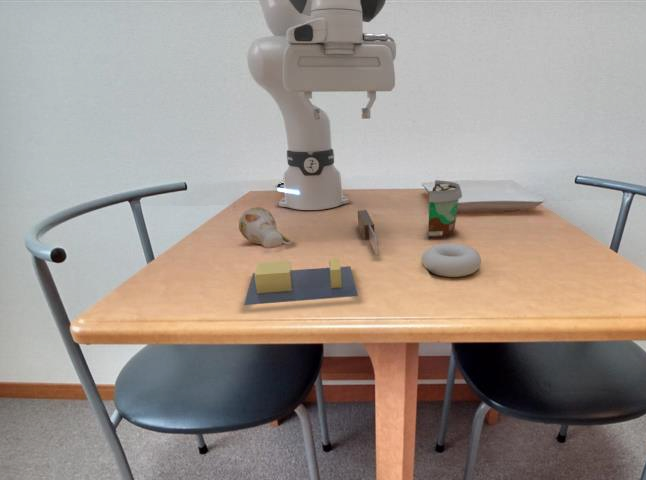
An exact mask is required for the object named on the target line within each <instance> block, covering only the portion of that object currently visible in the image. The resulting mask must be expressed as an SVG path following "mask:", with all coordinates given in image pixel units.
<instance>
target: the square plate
mask: <svg viewBox="0 0 646 480" xmlns="http://www.w3.org/2000/svg"><path fill="white" fill-rule="evenodd" d="M448 181H449V182H454V183H457V184H459V185H460V188H461V193H462V197H461V198H460V199H458V207H457V213H459V214H460V213H462V214H463V213H465V214H466V213H488V212H489V213H490V212H491V213H493V212H495V213H497V212H516V211H520V210H521V211H522V210H528V209H529V210H530V209H533V208H536V207H538V206H541V204H543V203H545V202H546V200H545V199H544V198H543V197H541V196H540V195H538V194H537V193H535V192H534V191H532V190H531V189H529V188H527V187H526V186H524V185H522V184H520V183H518V182H517V181H514V180H511V179H508V180H507V179H506V180H499V179H496V180H493V179H481V180H480V179H476V180H475V179H468V180H467V179H464V180H448ZM421 185H422V187H423V188H424V190H425V191H426V193H427V194H428V195H429V191H432V190H433V188H434V187H435V181H425V182H421Z"/></svg>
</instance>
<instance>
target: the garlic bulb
mask: <svg viewBox="0 0 646 480" xmlns="http://www.w3.org/2000/svg"><path fill="white" fill-rule="evenodd" d="M277 225H278V224H277V222H276V219H275V217H274V215H273V214H272V212H270V211H269V210H267V209H265V208H263V207H260V206H259V207H257V206H256V207H251V208H248V209H246V210H245V211H244V212H243V213H242V214H241V216H240V218H239V221H238V230H239V232H240V234H241V236H243V237H244V239H246V241H248V242H250V243H253V244H257V245H261V246H262V247H264V248H265V249H273V248H276V247H280V246H281V245H282V246H283V245H293V242H292V241H291V240H290V239H289V238H287V237H286V236H285V235H284V234H282V233H281V232H280V231H278V226H277Z"/></svg>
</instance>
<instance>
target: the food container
mask: <svg viewBox="0 0 646 480" xmlns="http://www.w3.org/2000/svg"><path fill="white" fill-rule="evenodd" d="M449 181H450V180H439V179H438V180H437V179H435V180H434V182H435V187H434V188H433V190H432V191H429V194H428V228H427V229H428V231H427V233H428V234H427V239H428V240H443V239H448V238H450V237H452V236H454V234H455V228H456V222H457V221H456V219H457V207H458V199H460V198H461V197H462V193H461V188H460V185H459V184H457V183H454V182H449Z"/></svg>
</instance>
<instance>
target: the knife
mask: <svg viewBox="0 0 646 480" xmlns="http://www.w3.org/2000/svg"><path fill="white" fill-rule="evenodd" d="M357 229H358V231H359V234H360V236H361V239H362V240H363V241H369V243H370V245H371V248H372V250H373V252H374V254H375V256H378V237H377V235H376V234H375V231H376V230H375V229H376V228H375V224H374V221H373V219H372V218H371V216H370V214H369V212H368V210H367V209H358V210H357Z"/></svg>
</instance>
